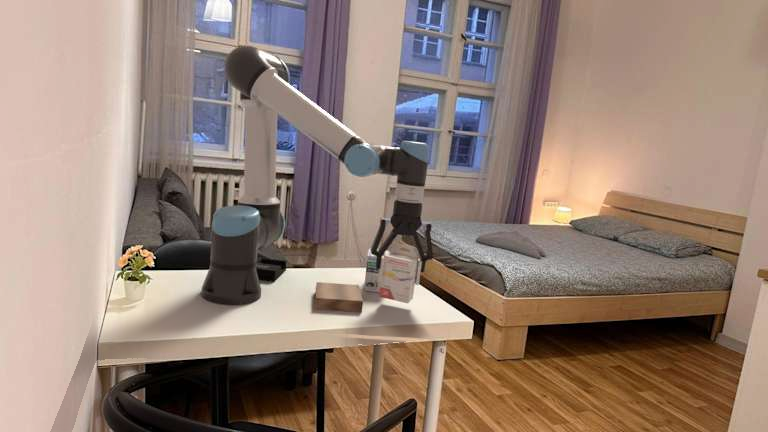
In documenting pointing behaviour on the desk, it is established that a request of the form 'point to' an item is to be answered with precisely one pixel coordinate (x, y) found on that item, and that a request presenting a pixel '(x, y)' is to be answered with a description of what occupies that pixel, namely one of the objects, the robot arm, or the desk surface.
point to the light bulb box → (372, 273)
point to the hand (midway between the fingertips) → (398, 281)
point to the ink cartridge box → (399, 273)
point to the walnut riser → (338, 297)
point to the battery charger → (270, 269)
